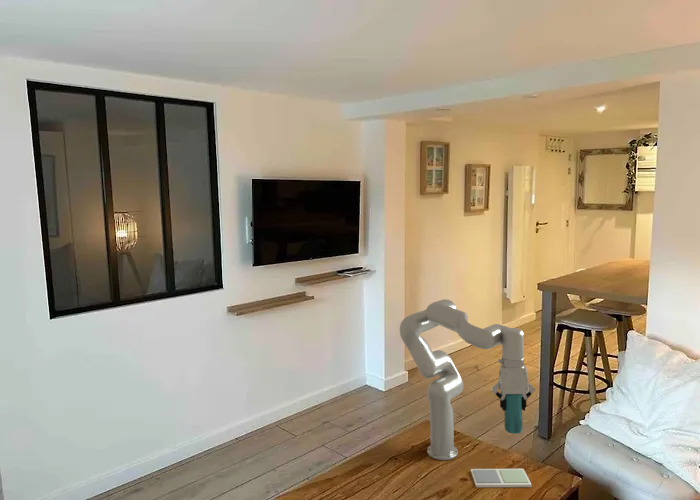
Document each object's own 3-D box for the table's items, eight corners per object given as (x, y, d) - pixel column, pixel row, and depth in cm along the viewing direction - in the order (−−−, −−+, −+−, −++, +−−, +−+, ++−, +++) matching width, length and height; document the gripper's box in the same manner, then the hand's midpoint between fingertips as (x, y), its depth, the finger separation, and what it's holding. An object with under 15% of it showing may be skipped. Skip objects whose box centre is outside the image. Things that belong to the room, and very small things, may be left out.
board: (476, 487, 190) (476, 484, 190) (470, 471, 201) (470, 468, 201) (531, 487, 189) (531, 483, 189) (523, 471, 200) (523, 467, 200)
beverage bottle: (523, 438, 189) (523, 385, 187) (504, 437, 190) (504, 384, 188) (521, 430, 195) (521, 379, 193) (503, 429, 197) (502, 378, 195)
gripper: (491, 366, 187) (491, 413, 189) (540, 365, 186) (540, 413, 188) (486, 359, 194) (487, 405, 196) (534, 358, 193) (533, 404, 195)
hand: (513, 408), depth 192 cm, fingers closed on beverage bottle, 6 cm apart
